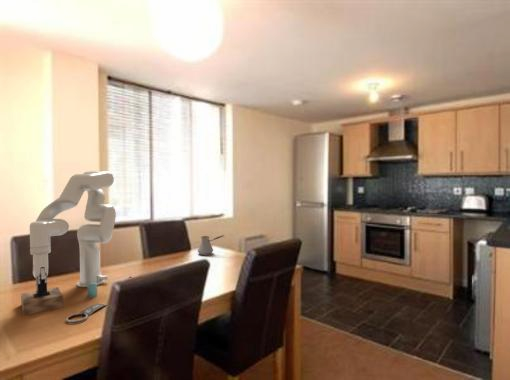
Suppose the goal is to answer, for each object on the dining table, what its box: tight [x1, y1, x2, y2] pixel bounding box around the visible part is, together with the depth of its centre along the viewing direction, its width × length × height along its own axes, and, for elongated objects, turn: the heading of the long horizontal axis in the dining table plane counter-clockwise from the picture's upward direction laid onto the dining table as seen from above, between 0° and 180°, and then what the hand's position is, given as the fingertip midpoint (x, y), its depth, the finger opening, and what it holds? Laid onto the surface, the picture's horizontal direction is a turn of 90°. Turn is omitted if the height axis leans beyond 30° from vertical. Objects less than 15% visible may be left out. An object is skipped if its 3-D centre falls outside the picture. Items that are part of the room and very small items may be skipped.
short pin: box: [87, 282, 98, 298], centre depth 155 cm, size 4×4×6 cm
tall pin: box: [35, 275, 48, 298], centre depth 143 cm, size 4×4×13 cm
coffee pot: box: [197, 234, 226, 256], centre depth 239 cm, size 21×12×15 cm, turn 71°
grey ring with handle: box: [65, 303, 107, 325], centre depth 135 cm, size 8×19×2 cm, turn 168°
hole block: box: [20, 287, 64, 316], centre depth 143 cm, size 14×14×5 cm
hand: (41, 290), depth 143 cm, fingers closed on tall pin, 3 cm apart
